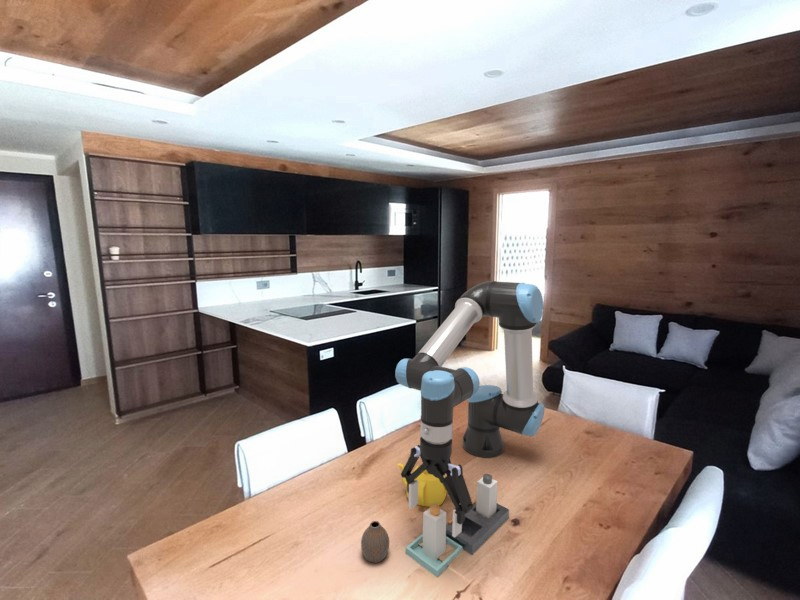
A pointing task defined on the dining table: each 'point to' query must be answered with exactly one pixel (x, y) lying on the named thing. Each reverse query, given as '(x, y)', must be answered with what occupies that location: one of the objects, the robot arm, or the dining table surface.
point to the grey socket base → (477, 528)
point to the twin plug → (486, 496)
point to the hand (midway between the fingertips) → (433, 519)
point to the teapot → (427, 488)
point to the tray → (434, 567)
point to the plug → (434, 532)
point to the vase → (375, 542)
